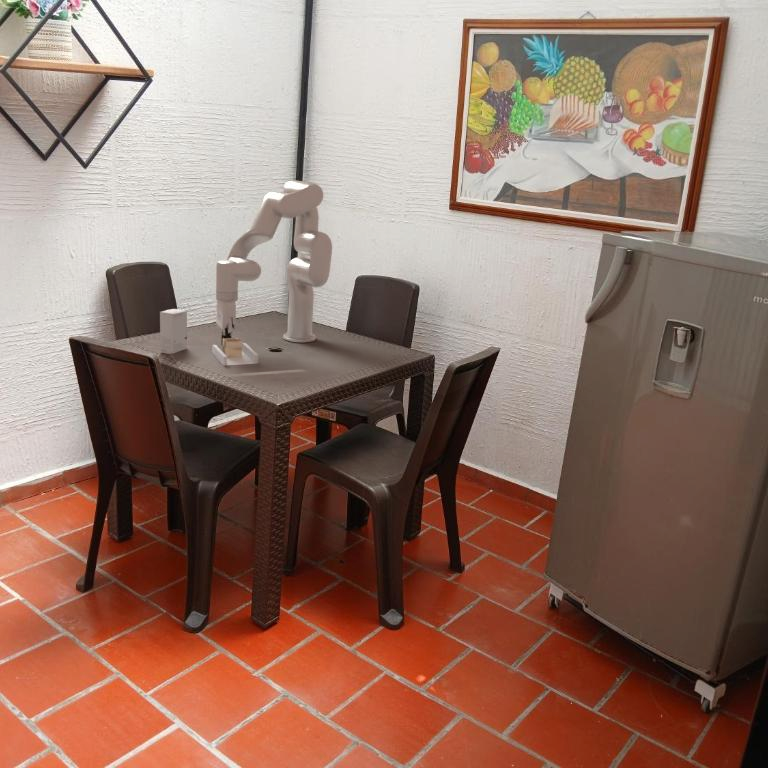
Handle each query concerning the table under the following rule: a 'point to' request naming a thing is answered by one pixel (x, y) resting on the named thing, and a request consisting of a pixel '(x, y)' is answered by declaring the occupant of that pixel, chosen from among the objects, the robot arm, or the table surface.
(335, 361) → the table surface
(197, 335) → the table surface
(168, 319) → the skincare box
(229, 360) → the u-shaped channel
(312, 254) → the robot arm
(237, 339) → the birch block
